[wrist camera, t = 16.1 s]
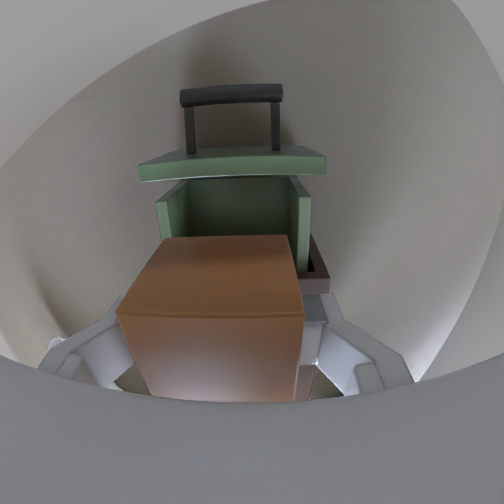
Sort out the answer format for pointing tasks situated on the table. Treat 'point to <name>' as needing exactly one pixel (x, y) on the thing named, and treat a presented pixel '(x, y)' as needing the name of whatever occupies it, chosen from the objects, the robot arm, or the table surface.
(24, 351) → the table surface
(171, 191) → the drawer
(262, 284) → the block
